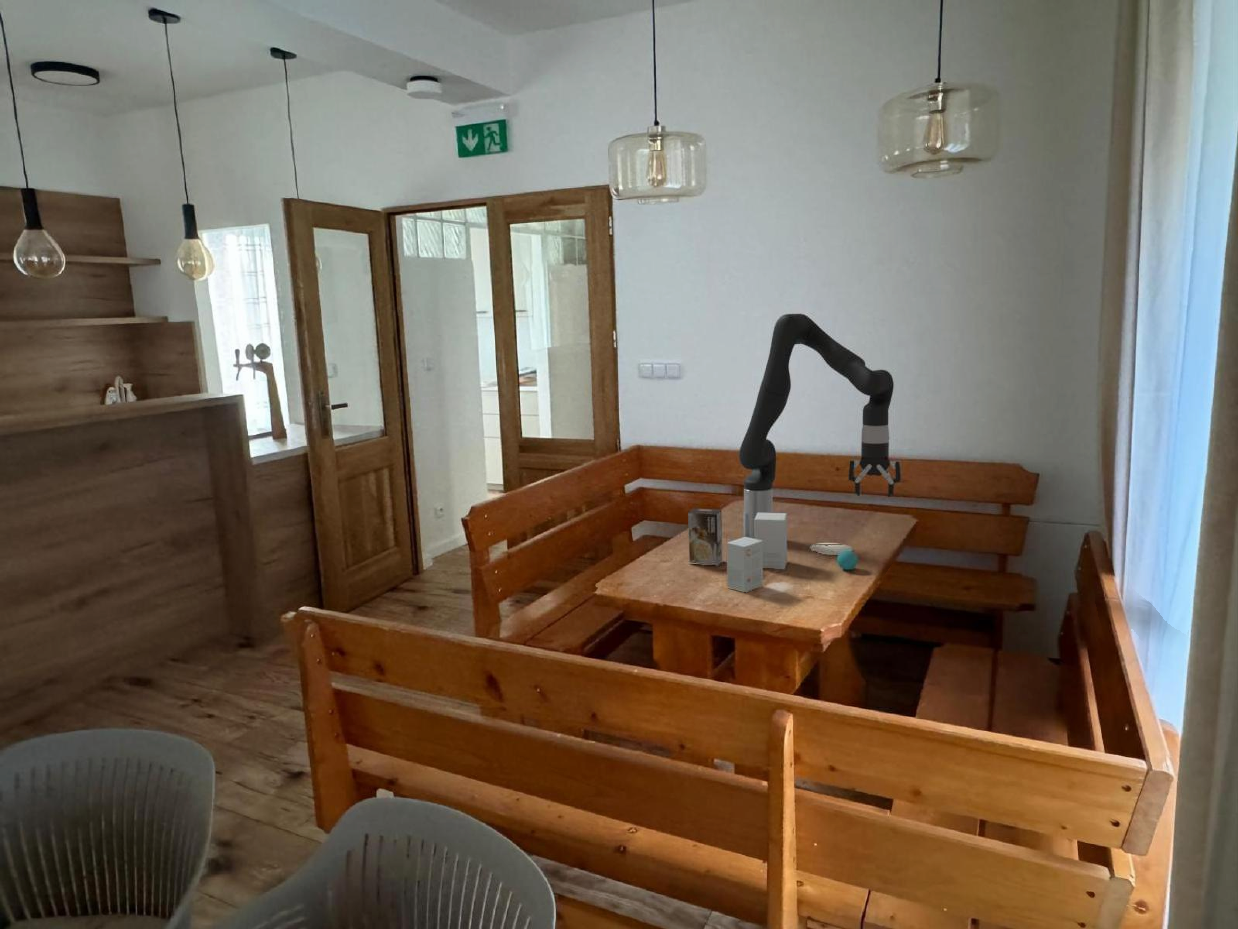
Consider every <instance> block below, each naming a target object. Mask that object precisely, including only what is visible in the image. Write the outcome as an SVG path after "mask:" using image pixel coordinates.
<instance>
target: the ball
mask: <svg viewBox="0 0 1238 929" xmlns="http://www.w3.org/2000/svg"><path fill="white" fill-rule="evenodd" d="M836 560H837V564H838V566H839V568H841V569H843V570H846V571H850V570H853V569H854V568H856V566H857V565H858V557H857V554H856V553H855V552H853V550H852V551H848V550H846V551H843V552H841V553H840V554H839V555H837V558H836Z"/></svg>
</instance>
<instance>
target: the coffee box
mask: <svg viewBox="0 0 1238 929" xmlns="http://www.w3.org/2000/svg"><path fill="white" fill-rule="evenodd" d="M687 517H688V518H687V520H688V550H689V551H688V553H689V557H688V559H689V563H690V562H691V563H698V564H706V565H719V564H720V563H721V561H722V560H723V538H722V537H723V536H722V535H723V534H722V533H723V532H722V530H723V529H722V528H723V527H722V526H723V525H722V509H715V508H714V509H711V508H695V507H694V508H691V510H689V512H688V514H687ZM722 562H723V561H722ZM721 564H722V563H721ZM721 564H720V565H721ZM720 565H719V566H720Z"/></svg>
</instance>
